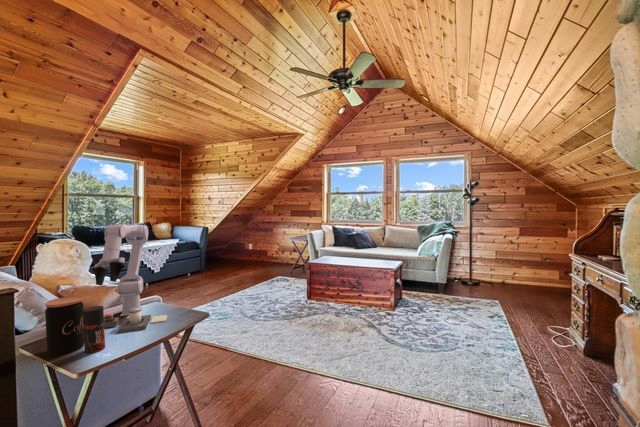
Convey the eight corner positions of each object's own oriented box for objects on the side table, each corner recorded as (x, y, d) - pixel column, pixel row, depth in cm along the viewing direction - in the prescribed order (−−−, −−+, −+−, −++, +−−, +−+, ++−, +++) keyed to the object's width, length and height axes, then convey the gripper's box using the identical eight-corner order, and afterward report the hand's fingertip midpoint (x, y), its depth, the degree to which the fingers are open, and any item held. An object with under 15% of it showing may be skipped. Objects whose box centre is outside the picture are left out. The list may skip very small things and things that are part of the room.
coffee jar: (64, 357, 106) (62, 305, 105) (38, 355, 107) (36, 304, 107) (92, 343, 116) (90, 296, 116) (68, 341, 118) (66, 295, 118)
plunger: (106, 321, 134) (105, 313, 134) (114, 320, 136) (114, 312, 135) (103, 323, 131) (103, 316, 131) (112, 322, 133) (112, 314, 132)
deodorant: (94, 354, 107) (92, 311, 107) (80, 352, 108) (78, 310, 108) (109, 346, 113) (107, 306, 113) (95, 345, 114) (94, 305, 114)
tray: (153, 317, 142) (153, 316, 142) (167, 315, 144) (167, 314, 144) (150, 323, 135) (150, 322, 135) (165, 321, 137) (165, 320, 137)
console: (103, 324, 135) (102, 319, 135) (119, 322, 137) (118, 317, 137) (99, 328, 130) (99, 323, 130) (116, 326, 132) (115, 320, 132)
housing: (125, 321, 138) (125, 318, 138) (150, 317, 142) (150, 314, 142) (117, 333, 125) (117, 329, 125) (145, 328, 129) (145, 325, 129)
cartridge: (130, 324, 135) (129, 308, 135) (142, 322, 137) (142, 306, 136) (127, 328, 130) (127, 311, 130) (140, 326, 132) (140, 310, 132)
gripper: (89, 252, 129) (83, 284, 123) (115, 244, 125) (110, 277, 119) (105, 256, 135) (100, 287, 129) (131, 249, 131) (126, 280, 125)
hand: (106, 283), depth 125 cm, fingers open, 7 cm apart
